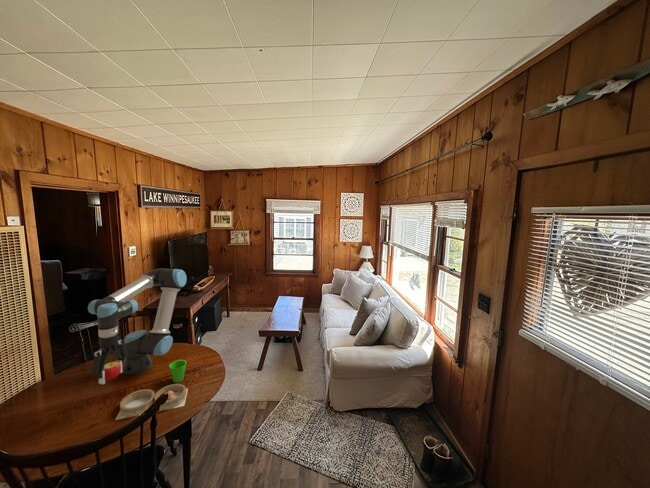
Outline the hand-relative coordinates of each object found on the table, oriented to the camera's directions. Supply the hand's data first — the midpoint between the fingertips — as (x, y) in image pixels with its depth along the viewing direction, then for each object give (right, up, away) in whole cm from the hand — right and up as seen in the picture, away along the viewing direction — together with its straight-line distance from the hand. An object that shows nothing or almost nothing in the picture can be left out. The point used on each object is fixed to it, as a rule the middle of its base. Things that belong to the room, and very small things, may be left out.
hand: (111, 377), depth 130 cm
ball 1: (+25, -14, +7) cm, 30 cm away
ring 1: (+13, -15, +1) cm, 20 cm away
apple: (0, 0, 0) cm, 1 cm away
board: (+20, -16, +3) cm, 26 cm away
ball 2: (+28, -15, +4) cm, 32 cm away
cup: (+21, -14, +22) cm, 34 cm away
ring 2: (+27, -15, +6) cm, 31 cm away
